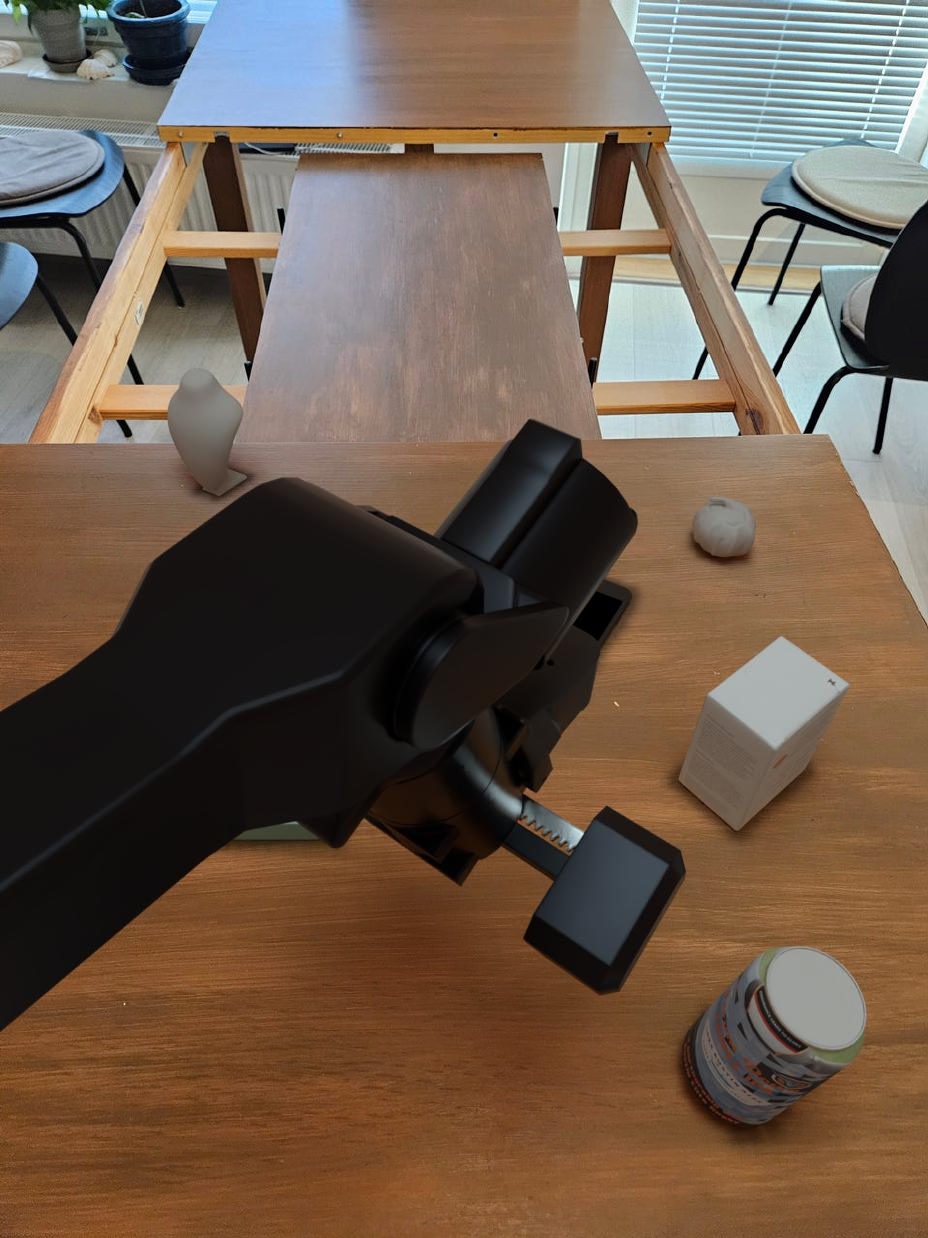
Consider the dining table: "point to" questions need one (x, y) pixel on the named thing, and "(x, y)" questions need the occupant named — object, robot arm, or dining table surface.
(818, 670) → the small box
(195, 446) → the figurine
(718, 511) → the garlic
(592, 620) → the smartphone
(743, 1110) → the beverage can
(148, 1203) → the dining table surface
